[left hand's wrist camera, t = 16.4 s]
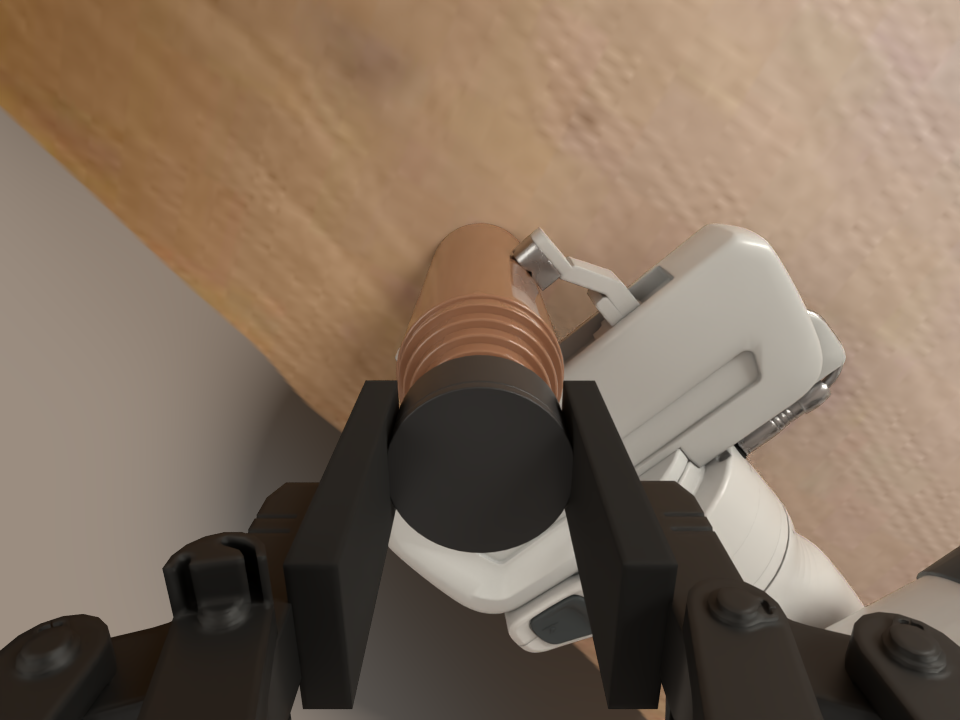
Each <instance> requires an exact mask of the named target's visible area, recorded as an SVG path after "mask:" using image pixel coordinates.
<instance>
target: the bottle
mask: <svg viewBox="0 0 960 720" xmlns="http://www.w3.org/2000/svg"><path fill="white" fill-rule="evenodd" d="M519 244H520V243H519V241H518V240H517V239H516V238H515V237H514V236H513V235H512V234H510V233H509V232H508V231H506V230H504V229H502V228H500V227H498V226H495V225H491V224H484V223H476V224H469V225H466V226H463V227H460V228H458V229H456V230H455V231H453V232H451V233H450V234H449V235H448V236H446V237H445V238H444V240H443V241H442V242H441V243H440V245H439V246H438V248H437V250H436V252H435V254H434V256H433V259H432V262H431V265H430V267H429V270H428V273H427V276H426V278H425V281H424V284H423V286H422V289H421V292H420V295H419V297H418V300H417V303H416V306H415V308H414V311H413V314H412V317H411V319H410V322H409V325H408V328H407V330H406V333H405V336H404V338H403V341H402V344H401V347H400V350H399V353H398V358H397V364H396V378H397V380H398V394H399V398H400V402H401V403H402V401H403V399H404V397H405V395H406V394H407V392H408V391H409V389H410V388H411V387H412V386H413V384H414V383H415V382H416V381H417V380H418V379H419V378H420V377H421V376H423V375H424V374H425V373H426V372H428V371H429V370H431V369H432V368H434V367H436V366H438V365H440V364H441V363H443V362H446V361H449V360H452V359H455V358H459V357H464V356H472V355H490V356H496V357H502V358H505V359H509V360H512V361H514V362H517V363H519V364H521V365H523V366H525V367H527V368H528V369H530V370H532V371H533V372H534V373H536V374H537V375H538V376H539V377H541V378H542V380H543V381H544V382H545V383H546V384H547V385H548V386H549V387H550V389H551V390H552V391H553V393H554V394H555V396H556V398H557V400H558V402H559V403H560V399H561V396H562V390H563V380H564V361H563V355H562V352H561V348H560V345H559V343H558V340H557V337H556V334H555V332H554V329H553V326H552V323H551V321H550V318H549V315H548V312H547V310H546V307H545V304H544V302H543V299H542V296H541V293H540V291H539V288H538V285H537V284H536V282H535V281H534V280H533V278H532V276H531V273H530V271H527V270H525V269H524V268H523V267H522V266H521V265H520V264H519V263H518V261H517V260H516V259H515V257H514V256H513V252H512V250H513V249H514V248H516V247H517V246H518V245H519Z"/></svg>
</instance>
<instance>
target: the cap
mask: <svg viewBox="0 0 960 720" xmlns="http://www.w3.org/2000/svg"><path fill="white" fill-rule="evenodd" d="M387 455H388V472H389V488H390V498H391V500H392V502H393V504H394V506H395V508H396V510H397V511H398V513H399V514H400V516H401V517H402V518H403V519H404V520H405V522H406V523H407V524H408V525H409V526H410V527H411V528H413V529H414V530H415V531H416V532H417V533H419V534H420V535H422V536H423V537H425V538H426V539H428V540H430V541H432V542H434V543H436V544H438V545H441V546H443V547H446V548H449V549H453V550H457V551H462V552H469V553H492V552H499V551H504V550H508V549H511V548H515V547H518V546H520V545H522V544H525V543H527V542H529V541H531V540H532V539H534V538H536V537H538V536H539V535H540V534H542V533H543V532H544V531H546V530H547V529H548V528H549V527H550V526H551V525H552V524H553V523H554V522H555V521H556V520H557V519H558V517H559V516H560V515H561V514H562V512H563V511H564V509H565V507H566V505H567V504H568V502H569V499H570V497H571V485H572V469H573V448H572V444H571V441H570V437H569V434H568V430H567V427H566V423H565V420H564V416H563V413H562V410H561V407H560V404H559V402H558V400H557V398H556V396H555V394H554V393H553V391H552V390H551V389H550V387H549V386H548V385H547V384H546V383H545V382H544V381H543V380H542V378H541V377H539V376H538V375H537V374H536V373H534V372H533V371H532V370H530V369H528V368H527V367H525V366H523V365H521V364H519V363H517V362H514V361H512V360H509V359H505V358H502V357H496V356H490V355H472V356H464V357H459V358H455V359H452V360H449V361H446V362H443V363H441V364H440V365H438V366H436V367H434V368H432V369H431V370H429V371H428V372H426V373H425V374H424V375H423V376H421V377H420V378H419V379H418V380H417V381H416V382H415V383H414V384H413V386H412V387H411V388H410V389H409V391H408V392H407V394H406V395H405V397H404V399H403V401H402V403H401V406H400V408H399V412H398V415H397V419H396V422H395V426H394V429H393V432H392V436H391V439H390V443H389V446H388V450H387Z"/></svg>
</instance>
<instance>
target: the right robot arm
mask: <svg viewBox="0 0 960 720" xmlns="http://www.w3.org/2000/svg"><path fill="white" fill-rule="evenodd" d="M512 252H513V256H514V257H515V259H516V260H517V261H518V263H519V264H520V265H521V266H522V267H523V268H524V269H525V270H527V271H530V273H531V276H532V278H533V280H534V281H535V282H536V284H537V285H538V286H539V287H540V288H541V289H542V290H544V289H545V288H547V287H548V286H549V285H551V284H552V283H553V282H554V281H556V280H557V279H558V278H560V279H562V280H565V281H568V282H570V283H573V284H576V285H579V286H582V287H585V288H588V292H587V294H588V296H589V297H590V299H591V300H592V302H593V303H594V305H595V306H596V308H597V309H598V310H599V311H597V312H596V313H595V314H594V315H592V316H591V317H590V318H589V319H587V320H586V321H585V322H584V323H582V324H581V325H580V326H579V327H577V328H576V329H575V330H574V331H572V332H571V333H570V334H569V335H567V336H566V337H565V338H564V339H562V340H561V341H560V342H559V345H560V348H561V352H562V355H563V361H564V380H595V382H596V384H597V386H598V388H599V391H600V393H601V395H602V397H603V399H604V402H605V404H606V406H607V408H608V410H609V413H610V415H611V417H612V419H613V422H614V424H615V426H616V428H617V430H618V433H619V435H620V437H621V439H622V441H623V444H624V446H625V448H626V450H627V453H628V455H629V457H630V459H631V461H632V464H633V466H634V468H635V470H636V472H637V475H638V477H639V479H640V481H676V482H677V483H678V484H680V485H681V486H682V487H684V488H685V489H686V490H687V491H689V492H690V493H691V494H693V495H694V496H695V498H696V500H697V501H698V503H699V505H700V507H701V508H702V510H703V512H704V516H705V517H707V519H708V520H709V522H710V524H711V526H712V527H713V531H715V532H716V534H717V536H718V538H719V539H720V541H721V543H722V544H723V546H724V548H725V550H726V551H727V553H728V555H729V557H730V558H731V560H732V562H733V563H734V565H735V567H736V569H737V570H738V572H739V574H740V576H741V577H742V579H743V581H744V582H747V583H749V584H751V585H753V586H755V587H757V588H759V589H761V590H763V591H765V592H766V593H767V594H768V595H769V596H770V597H772V598H773V599H774V600H775V601H776V602H778V604H779V605H780V607H781V608H782V610H783V612H784V613H785V615H786V616H787V618H788V619H791V620H793V621H796V622H799V623H802V624H806V625H809V626H813V627H817V628H821V629H826V630H830V631H834V632H838V633H843V634H847V635H851V633H852V629H853V626H854V623H855V622H856V621H857V620H858V619H859V618H860V617H861V616H862V615H865V614H870V613H875V612H886V613H895V614H901V615H904V616H907V617H910V618H913V619H916V620H919V621H922V622H924V623H925V624H927V625H929V626H931V627H933V628H935V629H937V630H938V631H940V632H942V633H944V634H945V635H946V636H947V637H949V638H950V639H951V640H952V641H953V642H955V643H956V644H957V645H958V646H960V546H959V547H957V548H956V549H954V550H953V551H951V552H950V553H948V554H947V555H945V556H944V557H942V558H941V559H940V560H938V561H937V562H935V563H934V564H932V565H931V566H929V567H928V568H926V569H925V570H923V571H922V572H920V573H919V574H918V575H917V580H915V581H913V582H911V583H909V584H908V585H906V586H904V587H902V588H900V589H898V590H896V591H894V592H893V593H891V594H889V595H887V596H885V597H883V598H881V599H879V600H877V601H876V602H874V603H872V604H870V605H868V606H866V607H865V606H864V605H863V603H862V602H861V601H860V599H859V598H858V596H857V595H856V593H855V592H854V591H853V589H852V588H851V586H850V585H849V584H848V582H847V581H846V580H845V578H844V577H843V576H842V574H841V573H840V572H839V571H838V569H837V568H836V567H835V566H834V564H833V563H832V562H831V561H830V559H829V558H828V557H827V556H826V555H825V554H824V553H823V552H822V551H821V550H820V549H819V548H818V547H817V546H816V545H815V544H813V543H812V542H811V541H809V540H808V539H807V538H805V537H803V536H802V535H800V534H798V533H796V532H795V529H794V526H793V523H792V520H791V518H790V515H789V513H788V512H787V510H786V508H785V506H784V505H783V503H782V502H781V501H780V499H779V498H778V497H777V496H776V494H775V493H774V492H773V491H772V489H771V488H770V487H769V486H768V485H767V483H766V482H765V481H764V480H763V479H762V477H761V476H760V475H759V474H758V473H757V471H756V470H755V469H754V468H753V467H752V465H751V464H750V463H749V462H748V461H747V460H746V456H747V455H748V454H750V453H751V452H753V451H754V450H756V449H757V448H759V447H760V446H761V445H763V444H764V443H766V442H767V441H769V440H770V439H772V438H773V437H774V436H776V435H777V434H778V433H780V431H781V430H783V429H784V428H785V426H788V425H789V424H790V422H793V421H794V420H795V418H798V417H800V416H801V415H803V414H804V413H806V414H807V413H809V412H811V411H813V410H814V409H816V408H817V407H819V406H820V405H821V404H822V403H824V402H825V401H826V400H827V399H828V398H829V397H830V395H831V391H830V390H829V389H828V388H829V387H830V386H831V385H832V384H833V383H834V382H835V381H836V379H837V378H838V376H839V374H840V372H841V370H842V367H843V363H844V362H845V359H846V357H845V352H844V349H843V347H842V345H841V342H840V341H839V339H838V338H837V336H836V335H835V334H834V332H833V331H832V329H831V328H830V327H829V325H828V324H827V322H826V321H825V320H824V318H822V317H821V316H820V315H819V314H817V313H816V312H814V311H811V310H809V309H806V307H805V305H804V303H803V301H802V299H801V297H800V294H799V292H798V290H797V289H796V287H795V285H794V283H793V281H792V279H791V278H790V276H789V274H788V272H787V270H786V269H785V267H784V265H783V264H782V262H781V260H780V259H779V257H778V256H777V254H776V253H775V251H774V250H773V248H772V247H771V245H770V244H769V243H768V242H767V241H766V240H765V239H764V238H762V237H761V236H760V235H758V234H756V233H755V232H753V231H751V230H748V229H746V228H743V227H739V226H734V225H727V224H718V223H711V224H707V225H705V226H704V227H702V228H701V229H700V230H698V231H697V232H696V233H695V234H693V235H692V236H691V237H690V238H688V239H687V240H686V241H685V242H683V243H682V244H681V245H680V246H678V247H677V248H676V249H675V250H673V251H672V252H671V253H670V254H668V255H667V256H666V257H665V258H663V259H662V260H661V261H660V262H658V263H657V264H656V265H655V266H653V267H652V268H651V269H650V270H648V271H647V272H646V273H645V274H643V275H642V276H641V277H640V278H639V279H637V280H636V281H635V282H634V283H632V284H631V285H630V286H629V287H627V288H626V286H625V285H624V284H623V283H622V282H621V281H620V279H619V278H618V277H617V276H616V275H615V274H614V273H613V272H612V271H611V270H609V269H606V268H603V267H600V266H597V265H594V264H591V263H588V262H585V261H582V260H579V259H576V258H573V257H570V256H568V257H567V258H566V257H565V256H564V255H563V254H562V253H561V251H560V250H559V249H558V248H557V247H556V245H555V244H554V243H553V242H552V241H551V239H550V238H549V237H548V236H547V235H546V233H545V232H544V231H543V230H542V229H541V228H540V227H538V228H537V229H536V230H535V231H534V232H533V233H531V234H530V235H529V236H528V237H527V238H526V239H524V240H523V241H522V242H521V243H520V244H519V245H518V246H517V247H516V248H514V249H513V250H512ZM399 350H400V348H399V349H398V351H397V354H396V356H395V359H396V361H397V358H398V353H399ZM824 377H825V378H824ZM823 378H824V379H823ZM821 379H823V380H822V381H821ZM562 394H563V390H562ZM559 404H560V407H561V410H562V396H561V399H560V403H559ZM388 547H389V548H390V549H391V550H392V551H393V552H394V553H395V554H397V556H399V557H400V558H401V559H402V560H403V561H404V562H405V563H407V564H408V565H409V566H410V567H411V568H413V569H414V570H415V571H416V572H418V573H419V574H420V575H421V576H422V577H424V578H425V579H426V580H428V581H429V582H430V583H432V584H433V585H434V586H435V587H437V588H438V589H440V590H441V591H442V592H444V593H445V594H447V595H448V596H449V597H451V598H452V599H454V600H455V601H457V602H458V603H460V604H462V605H463V606H466V607H468V608H470V609H472V610H475V611H478V612H482V613H488V614H500V613H505V618H506V623H507V628H508V632H509V635H510V637H511V638H512V639H513V640H514V642H515V643H517V644H518V645H519V646H520V647H521V648H523V649H524V650H526V651H528V652H533V653H538V652H544V651H548V650H551V649H554V648H557V647H560V646H564V645H567V644H570V643H573V642H576V641H579V640H583V639H586V638H590V637H593V636H592V632H591V627H590V623H589V618H588V614H587V609H586V604H585V600H584V595H583V591H582V586H581V582H580V577H579V573H578V568H577V563H576V559H575V554H574V550H573V545H572V541H571V536H570V532H569V527H568V522H567V518H566V513H565V509H564V511H563V512H562V514H561V515H560V516H559V517H558V519H557V520H556V521H555V522H554V523H553V524H552V525H551V526H550V527H549V528H548V529H547V530H546V531H544V532H543V533H542V534H540V535H539V536H538V537H536V538H534V539H532V540H531V541H529V542H527V543H525V544H522V545H520V546H518V547H515V548H511V549H508V550H504V551H499V552H492V553H469V552H462V551H457V550H453V549H449V548H446V547H443V546H441V545H438V544H436V543H434V542H432V541H430V540H428V539H426V538H425V537H423V536H422V535H420V534H419V533H417V532H416V531H415V530H414V529H413V528H411V527H410V526H409V525H408V524H407V523H406V522H405V520H404V519H403V518H402V517H401V516H400V514H399V513H398V511H397V510H396V512H395V517H394V521H393V526H392V530H391V535H390V539H389V544H388ZM669 714H670V707H669V704H668V701H667V698H666V713H665V720H669Z"/></svg>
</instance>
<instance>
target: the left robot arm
mask: <svg viewBox="0 0 960 720" xmlns="http://www.w3.org/2000/svg"><path fill="white" fill-rule="evenodd" d="M398 412H399V399H398V380H366V381H365V383H364V386H363V388H362V390H361V392H360V394H359V397H358V399H357V401H356V403H355V406H354V408H353V410H352V412H351V414H350V417H349V419H348V421H347V423H346V425H345V428H344V430H343V432H342V434H341V437H340V439H339V441H338V443H337V445H336V448H335V450H334V452H333V454H332V456H331V459H330V461H329V463H328V465H327V468H326V470H325V472H324V474H323V476H322V479H321V481H320V483H285V484H284V485H282V486H281V487H280V488H279V489H277V490H276V491H275V492H273V493H272V494H271V495H270V496H268V497H267V498H266V500H265V502H264V503H263V505H262V507H261V509H260V510H259V512H258V514H257V518H256V519H254V521H253V522H252V524H251V526H250V528H249V530H248V533H243V532H223V533H219V534H214V535H210V536H205V537H203V538H201V539H198V540H196V541H194V542H191V543H189V544H187V545H185V546H184V547H183V548H181V549H180V550H179V551H177V552H176V553H175V554H173V555H172V556H171V557H170V559H169V560H168V561H167V563H166V564H165V566H164V567H163V573H164V577H165V582H166V586H167V591H168V595H169V599H170V604H171V608H172V613H173V620H172V621H171V622H169V623H166V624H163V625H160V626H157V627H153V628H150V629H145V630H141V631H137V632H133V633H128V634H124V635H120V636H116V637H110V633H109V630H108V626H107V625H106V624H105V623H104V622H103V621H102V620H101V619H100V618H99V617H95V616H90V615H85V614H79V615H70V616H62V617H59V618H56V619H53V620H50V621H47V622H44V623H41V624H39V625H37V626H35V627H33V628H32V629H30V630H28V631H26V632H24V633H22V634H21V635H19V636H17V637H16V638H15V639H14V640H13V641H11V642H10V643H9V644H8V645H6V646H5V647H4V648H3V649H2V650H0V720H291V714H290V712H291V709H292V706H293V703H294V700H295V697H296V694H297V691H298V687H299V684H300V691H301V698H302V705H303V709H352V708H353V703H354V699H355V694H356V690H357V685H358V681H359V676H360V671H361V667H362V662H363V657H364V653H365V649H366V644H367V640H368V635H369V630H370V626H371V621H372V617H373V612H374V608H375V603H376V599H377V594H378V589H379V585H380V580H381V576H382V571H383V567H384V562H385V557H386V553H387V548H388V544H389V539H390V535H391V530H392V526H393V521H394V517H395V512H396V508H395V506H394V504H393V502H392V500H391V498H390V488H389V472H388V455H387V450H388V446H389V443H390V439H391V436H392V432H393V429H394V426H395V422H396V419H397V415H398ZM562 413H563V416H564V420H565V423H566V427H567V430H568V434H569V437H570V441H571V444H572V448H573V469H572V485H571V497H570V499H569V502H568V504H567V505H566V507H565V513H566V518H567V522H568V527H569V532H570V536H571V541H572V545H573V550H574V554H575V559H576V563H577V568H578V573H579V577H580V582H581V586H582V591H583V595H584V600H585V604H586V609H587V614H588V618H589V623H590V627H591V632H592V636H593V641H594V645H595V650H596V655H597V659H598V664H599V668H600V673H601V677H602V682H603V686H604V691H605V696H606V700H607V705H608V709H658V703H659V696H660V689H661V682H662V685H663V689H664V692H665V695H666V698H667V701H668V704H669V707H670V714H669V720H960V646H958V645H957V644H956V643H955V642H953V641H952V640H951V639H950V638H949V637H947V636H946V635H945V634H944V633H942V632H940V631H938V630H937V629H935V628H933V627H931V626H929V625H927V624H925V623H924V622H922V621H919V620H916V619H913V618H910V617H907V616H904V615H901V614H895V613H886V612H875V613H870V614H865V615H862V616H861V617H860V618H859V619H858V620H857V621H856V622H855V623H854V626H853V629H852V633H851V635H847V634H843V633H838V632H834V631H830V630H826V629H821V628H817V627H813V626H809V625H806V624H802V623H799V622H796V621H793V620H791V619H788V618H787V616H786V615H785V613H784V612H783V610H782V608H781V607H780V605H779V604H778V602H776V601H775V600H774V599H773V598H772V597H770V596H769V595H768V594H767V593H766V592H765V591H763V590H761V589H759V588H757V587H755V586H753V585H751V584H749V583H747V582H744V581H743V579H742V577H741V576H740V574H739V572H738V570H737V569H736V567H735V565H734V563H733V562H732V560H731V558H730V557H729V555H728V553H727V551H726V550H725V548H724V546H723V544H722V543H721V541H720V539H719V538H718V536H717V534H716V532H715V531H713V527H712V526H711V524H710V522H709V520H708V519H707V517H705V516H704V512H703V510H702V508H701V507H700V505H699V503H698V501H697V500H696V498H695V496H694V495H693V494H691V493H690V492H689V491H687V490H686V489H685V488H684V487H682V486H681V485H680V484H678V483H677V482H676V481H640V479H639V477H638V475H637V472H636V470H635V468H634V466H633V464H632V461H631V459H630V457H629V455H628V453H627V450H626V448H625V446H624V444H623V441H622V439H621V437H620V435H619V433H618V430H617V428H616V426H615V424H614V422H613V419H612V417H611V415H610V413H609V410H608V408H607V406H606V404H605V402H604V399H603V397H602V395H601V393H600V391H599V388H598V386H597V384H596V382H595V380H563V394H562Z"/></svg>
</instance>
